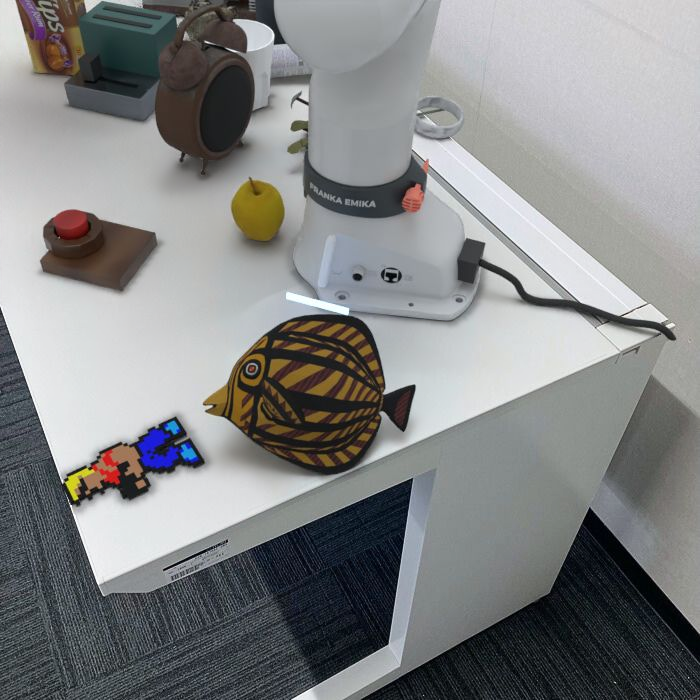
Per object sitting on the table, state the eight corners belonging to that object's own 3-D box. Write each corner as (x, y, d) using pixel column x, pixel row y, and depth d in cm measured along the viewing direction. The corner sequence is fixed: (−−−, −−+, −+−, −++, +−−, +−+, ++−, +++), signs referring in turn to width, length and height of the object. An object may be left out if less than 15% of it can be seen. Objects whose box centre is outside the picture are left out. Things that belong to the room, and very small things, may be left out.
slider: (103, 73, 113) (99, 53, 110) (94, 81, 111) (90, 62, 109) (91, 71, 113) (86, 51, 111) (81, 79, 111) (77, 59, 109)
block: (157, 243, 93) (153, 220, 91) (121, 291, 87) (116, 268, 85) (73, 223, 95) (67, 200, 92) (33, 269, 89) (25, 245, 86)
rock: (216, -15, 132) (167, -3, 126) (249, 2, 127) (200, 16, 122) (217, 18, 135) (170, 31, 130) (250, 35, 131) (203, 50, 126)
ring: (403, 117, 111) (401, 129, 112) (457, 134, 110) (454, 145, 111) (420, 88, 115) (418, 99, 117) (471, 104, 114) (468, 115, 116)
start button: (95, 225, 90) (92, 213, 89) (79, 243, 88) (75, 231, 86) (67, 218, 91) (64, 206, 89) (50, 236, 88) (47, 224, 87)
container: (322, 34, 120) (226, 43, 119) (326, 49, 117) (227, 59, 116) (324, 62, 123) (230, 71, 122) (327, 78, 120) (231, 87, 119)
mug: (244, 42, 128) (240, -27, 120) (295, 34, 131) (295, -34, 123) (270, 76, 121) (268, 4, 113) (323, 67, 124) (325, -4, 116)
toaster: (183, 78, 120) (175, 13, 113) (143, 121, 111) (132, 54, 104) (113, 64, 122) (101, -1, 115) (68, 105, 113) (52, 38, 106)
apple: (240, 216, 97) (236, 162, 91) (290, 223, 97) (289, 169, 91) (227, 249, 93) (222, 194, 87) (279, 256, 93) (278, 202, 87)
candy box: (98, 64, 122) (78, -37, 110) (90, 77, 119) (68, -25, 108) (42, 59, 122) (16, -42, 111) (33, 73, 119) (5, -30, 108)
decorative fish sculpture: (322, 523, 68) (246, 492, 76) (425, 404, 76) (346, 388, 84) (248, 406, 61) (173, 386, 70) (369, 288, 69) (289, 283, 77)
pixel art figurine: (176, 418, 75) (56, 474, 70) (176, 416, 75) (55, 472, 70) (204, 462, 72) (80, 524, 67) (204, 460, 72) (79, 522, 67)
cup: (278, 84, 120) (277, 21, 112) (272, 118, 113) (270, 53, 106) (213, 80, 120) (208, 17, 112) (204, 114, 113) (197, 49, 106)
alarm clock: (203, 191, 101) (187, 43, 86) (159, 173, 103) (136, 25, 88) (266, 140, 109) (261, -2, 95) (224, 124, 112) (213, -17, 97)
